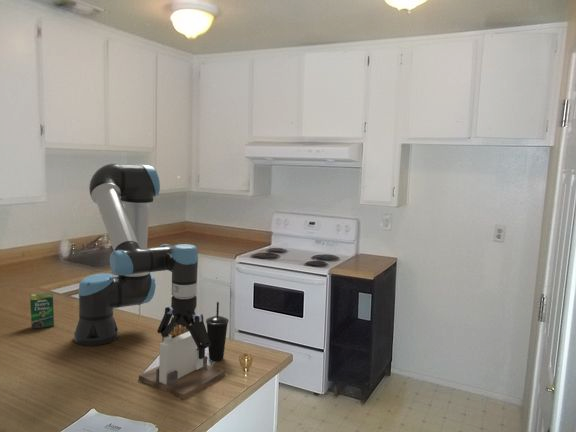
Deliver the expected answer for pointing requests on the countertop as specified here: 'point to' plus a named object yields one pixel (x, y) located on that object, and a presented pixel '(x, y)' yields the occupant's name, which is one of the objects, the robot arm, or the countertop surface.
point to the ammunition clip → (178, 330)
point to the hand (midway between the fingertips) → (182, 361)
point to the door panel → (177, 356)
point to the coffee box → (42, 310)
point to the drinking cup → (217, 335)
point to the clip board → (184, 380)
